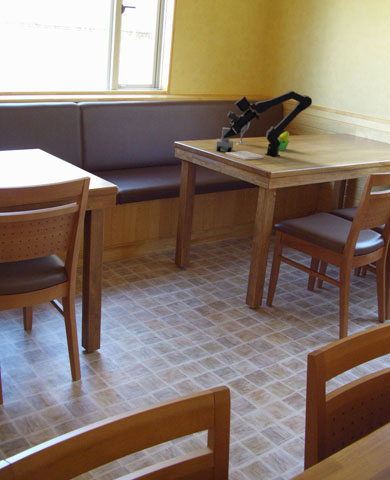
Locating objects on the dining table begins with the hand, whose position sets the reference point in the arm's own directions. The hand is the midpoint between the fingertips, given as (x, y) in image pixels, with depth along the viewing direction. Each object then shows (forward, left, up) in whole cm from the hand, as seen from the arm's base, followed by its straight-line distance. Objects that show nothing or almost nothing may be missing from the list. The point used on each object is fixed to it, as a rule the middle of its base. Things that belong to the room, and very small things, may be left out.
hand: (223, 136), depth 341 cm
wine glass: (-29, -12, -8) cm, 32 cm away
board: (-2, +16, -8) cm, 18 cm away
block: (-1, +1, -8) cm, 8 cm away
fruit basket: (-41, +9, -8) cm, 43 cm away
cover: (-1, +1, -8) cm, 8 cm away
